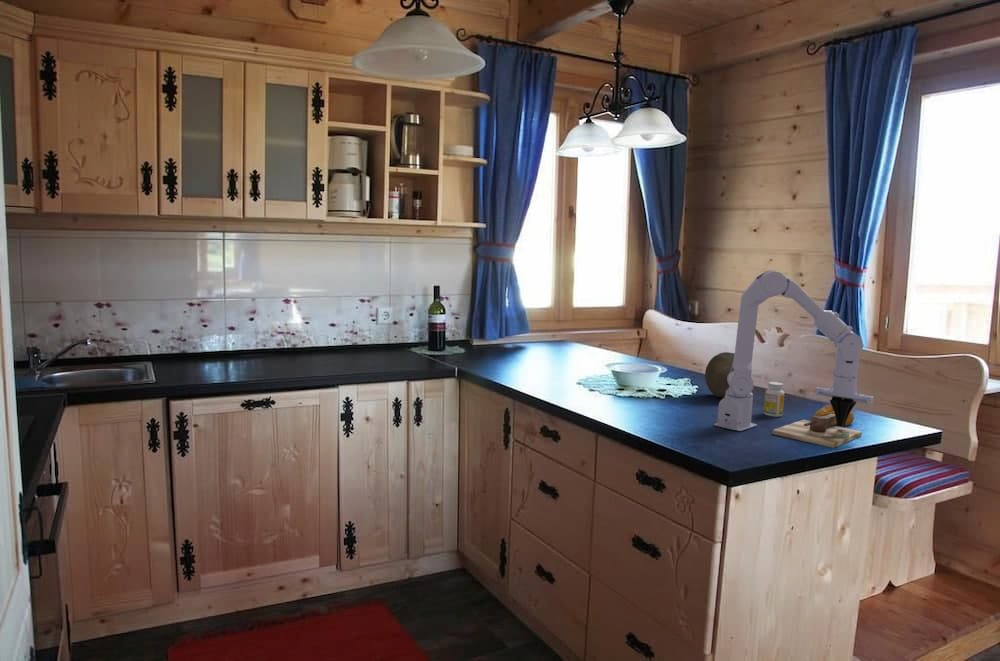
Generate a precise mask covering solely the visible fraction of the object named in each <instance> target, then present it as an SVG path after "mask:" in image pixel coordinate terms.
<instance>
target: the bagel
mask: <svg viewBox="0 0 1000 661" xmlns="http://www.w3.org/2000/svg"><path fill="white" fill-rule="evenodd" d="M813 414H814V415H813V416H820V417H823V416H826V415H829V414H835V413H834V410H833V407H832V405H831V404H827V405H825V406H823V407H822V408H819V409H817V411H816V412H815V413H813ZM854 420H855V415H854V412H853V411H852V410H851V412H850V413H849V415H848V418H847V420H846V424H845V426H844V427H846V426H849V425H851V424H853V422H854ZM833 426H837V424H834V425H833ZM837 427H838V426H837Z"/></svg>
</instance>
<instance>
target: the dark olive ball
mask: <svg viewBox="0 0 1000 661" xmlns="http://www.w3.org/2000/svg"><path fill="white" fill-rule="evenodd" d="M734 355H735V352H724V351H723V352H720V353H718V354H716V355H714V356H712V358H711V359H710V360H709V361H708V363H707V365H706V368H705V370H704V380H705V382H706V386H707V388H708V390H709V391H710V393H711V394H713V395H714V396H715V397H718V398H722V399H723V398H724V397H725V394H726V390H727V389H728V388H729V384H728V381H727V377H728V374H729V372H730V371H731V369H732V364H733V360H734Z"/></svg>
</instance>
